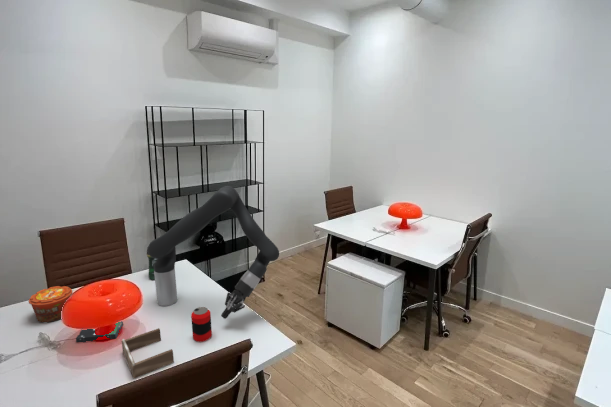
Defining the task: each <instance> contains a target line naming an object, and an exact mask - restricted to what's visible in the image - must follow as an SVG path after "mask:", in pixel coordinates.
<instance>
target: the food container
mask: <svg viewBox="0 0 611 407" xmlns="http://www.w3.org/2000/svg"><path fill="white" fill-rule="evenodd" d="M71 295H72V296H73V289H72V288H70V287H69V286H65V285H63V286H60V285H57V286H51V287H49V288H44V289H41V290H38V291H37V292H36V293H35V294H32V295H31V296H30V298H29V299H28V304H29V305H31V307H32V310H33V312H34V313H33V314H35V315H34V316H35V318H36V321H37V322H39V323H43V322H47V323H52V321H53V322H56V321H60V320H62V319H61V311H62V307H63V305H64V303H65V302H66V300H67V299H68V298H69V297H70V296H71ZM72 296H71V297H72Z"/></svg>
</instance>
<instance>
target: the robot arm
mask: <svg viewBox="0 0 611 407" xmlns="http://www.w3.org/2000/svg"><path fill="white" fill-rule="evenodd" d="M229 210H231V211H232V212H233V213H234V215H235V217H236V218H237V220H238V223H239V225H240V228H241V230H242V232H243V233H244V234H245V236H246V237H247V239H248V240H249V241H250V242H251V244H253V246H255V247H256V249H258V250H259V251H258V253H257V255H256V256H255V258H254V261H253V262H252V264H251V265H250V266H249V268H248V269H247V270H246V272H244V274H242V276H241V277H240V279H239V280H238V282H237V283H236V285H234V290H233V291H232V292H227V293H226V298H225V302H224V305H225V309H224V310H223V312H222V313H221V317H222V318H223V319H224V320H226V319H227V318H228V317H229V316H230V315H231V313H237V312H238V311H240V310H243V309H244V308H245V304H244V303H245V301H246V298H247V297H248V298H249V297H250V296H251V294H252V293H253V291H254V290H255V288H257V286H258V284H259V282H260V281H261V279H262V278H263V276H264V275H265V273H266V272H267V271H268V270H267V267H268V265H269V264H270V262H274V261H277V260H278V258H279V257H280V250H279V248H278V247H277V245H276V244H275V243H274V242H273V241H272V240H271V239H270V238H269V237H268V236H267V235H266V233H265V232H264V230H263V229H262V228H261V227H260V226H259V224H258V223H257V222H256V221H255V219H254V217H253V216H252V215H251V213H250V212H249V210H248V209H247V207H246V205H245V204H244V202H243V200H242V198H241V195H240V194H239V192H238V191H237V190H236V188H235V187H233V186H231V185H224V186H222V187H220V188H219V189H218V190H217V191H216V192H214V194H213V195H212V196H211V197H210V198H209V199H208V200H207V201H206V202H205V203H204V204H202V205H201V206H199V207H197V208H196V209H194V210H191V211H190V212H189V213H187V214H186V215H185V216H183V217H182V218H181V219H180V220H179V221H177V222H176V223H175V224H174V225H173V226H172V227H171V228H170V229H169V230H168V231H166V232H164V234H163V235H160V236H159V237H157V238H155V239H153V240H152V241H151V242H150V243H149V244H148V246H147V247H148V253H149V255H150V256H151V257H152V258H155V259H157V261H156V262H155V264H154V275H155V280H154V283H155V293H156V294H155V295H156V301H157V305H158V306H161V307H169V306H172V305H174V304H176V302H177V301H178V290H177V289H178V288H177V279H176V267H175V265H176V260H177V254H176V253H177V252H176V251H177V250H176V246H178V245H179V244H181V243H183V242H185V241H187V240H189V239H190V238H191V237H193V236H195V235H197V233H199V232H201V231H202V230H203V229H204V228H205V227H206V226H208V225H209V223H210V222H212V220H213V219H215V218H217V217H219V216H220V215H221V214H224V213H225V212H228V211H229Z"/></svg>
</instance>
